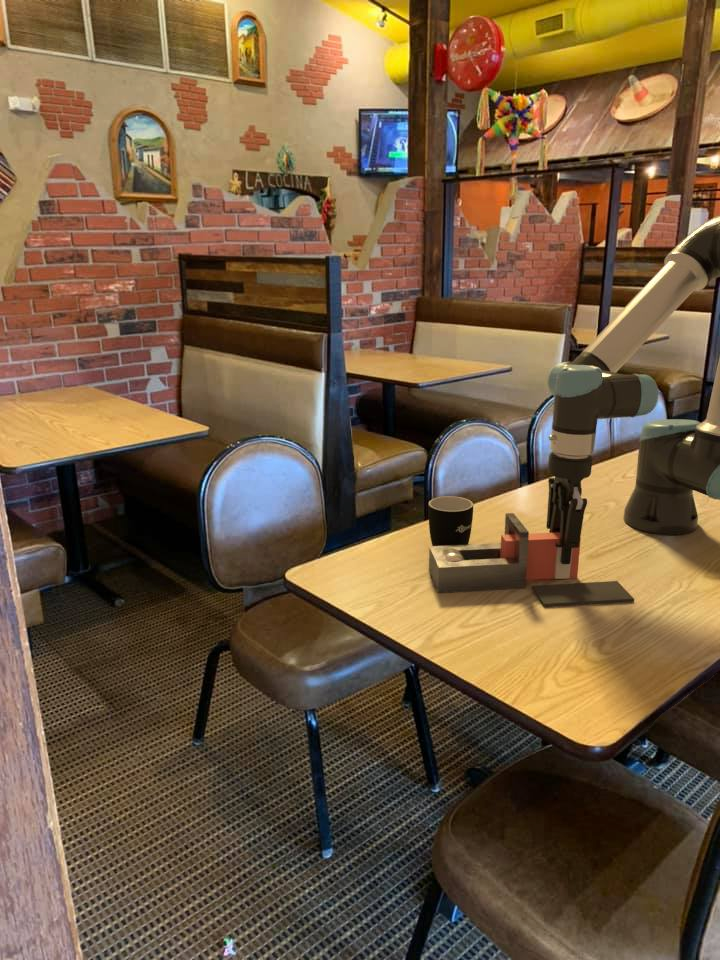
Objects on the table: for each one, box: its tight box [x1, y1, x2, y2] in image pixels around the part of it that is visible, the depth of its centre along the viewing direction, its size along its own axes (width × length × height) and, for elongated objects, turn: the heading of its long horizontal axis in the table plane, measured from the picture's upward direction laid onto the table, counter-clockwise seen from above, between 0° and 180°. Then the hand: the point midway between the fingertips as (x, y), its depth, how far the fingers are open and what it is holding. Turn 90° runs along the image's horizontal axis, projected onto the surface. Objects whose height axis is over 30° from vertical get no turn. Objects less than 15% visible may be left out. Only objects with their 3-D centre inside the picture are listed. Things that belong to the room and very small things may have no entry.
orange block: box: [500, 532, 582, 581], centre depth 134 cm, size 14×3×8 cm, turn 95°
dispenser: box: [428, 512, 530, 594], centre depth 133 cm, size 16×10×11 cm, turn 95°
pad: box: [530, 580, 635, 608], centre depth 128 cm, size 16×7×1 cm, turn 95°
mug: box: [427, 495, 474, 546], centre depth 147 cm, size 12×9×10 cm
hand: (558, 573), depth 136 cm, fingers closed on orange block, 3 cm apart
